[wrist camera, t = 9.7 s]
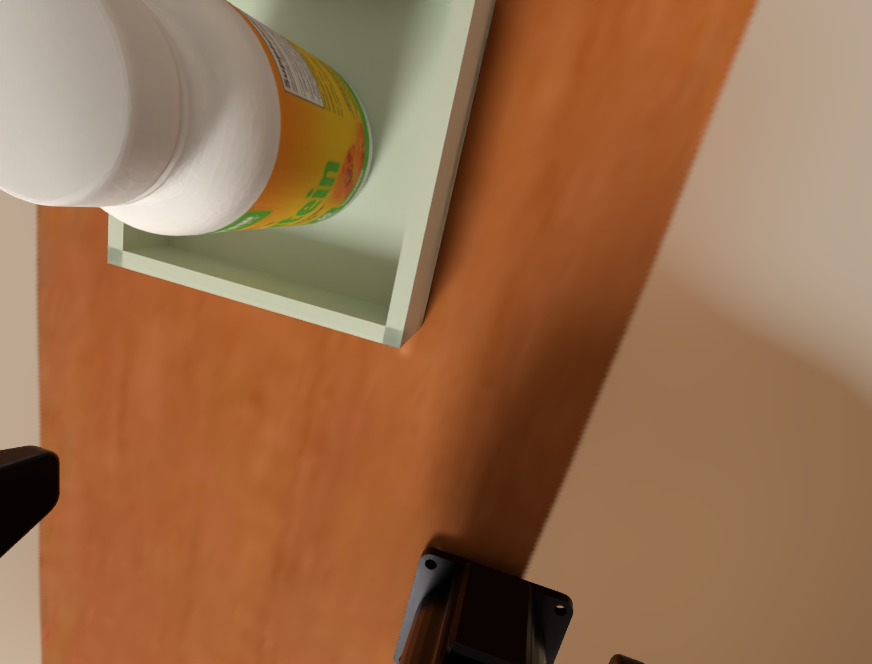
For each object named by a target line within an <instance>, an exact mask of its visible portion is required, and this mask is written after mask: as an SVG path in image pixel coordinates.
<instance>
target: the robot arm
mask: <svg viewBox="0 0 872 664" xmlns="http://www.w3.org/2000/svg"><path fill="white" fill-rule="evenodd" d="M59 494H60V462H59V458H58V456H57V454H55V453H54V452H52V451H49V450H46V449H43V448H41V447H38V446H23V447H17V448H12V449H5V450H0V558H1V557H2V556H3V555H4V554H5V553H6V552H7V551H8V550H9V549H11V547H13V546H14V545H15V544H16V543H17V542H18V541H19V540H20V539H21V538H22V537H24V536H25V535H26V534H27V533H28V532H29V531H30V530H31V529H32V528H33V527H34V526H35V525H36V524H38V523H39V522H40V521H41V520H42V519H43V518H44V517H45V516H46V515H47V514H48V513H49V512H50V511H51V510H52V509H53V508H54V506H55V505H56V503H57V501H58V499H59ZM428 559H431V560H434V561H435V562H436V563H431V562H429V561H428ZM558 605H561V606H563V607H564V608H557V607H556V606H558ZM572 615H573V603H572V600H571V599H570V598H569V597H568V596H567V595H565V594H563V593H560V592H558V591H555V590H552V589H549V588H546V587H543V586H540V585H538V584H535V583H532V582H529V581H526V580H523V579H521V578H518V577H515V576H512V575H509V574H506V573H503V572H501V571H498V570H495V569H492V568H489V567H486V566H483V565H481V564H478V563H475V562H472V561H469V560H466V559H464V558H461V557H458V556H455V555H452V554H449V553H446V552H444V551H441V550H438V549H435V548H428V549H426V550H424V551H423V553H422V555H421V558H420V561H419V564H418V568H417V572H416V576H415V579H414V583H413V587H412V591H411V594H410V598H409V602H408V606H407V609H406V613H405V617H404V621H403V624H402V628H401V632H400V636H399V639H398V643H397V647H396V650H395V654H394V662H395V664H553V663H554V660H555V658H556V655H557V653H558V650H559V648H560V645H561V643H562V640H563V638H564V635H565V633H566V630H567V628H568V625H569V623H570V620H571V618H572ZM609 664H644V663H643V662H640V661H638V660H635V659H632V658H629V657H626V656H624V655H621V654H616V655H614V656H613V657H612V658H611V660H610V662H609Z"/></svg>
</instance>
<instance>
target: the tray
mask: <svg viewBox="0 0 872 664" xmlns="http://www.w3.org/2000/svg"><path fill="white" fill-rule="evenodd" d="M226 1H228V2H229V3H231V4H232V5H234V6H236V7H237V8H239V9H240V10H242V11H243V12H245V13H247V14H248V15H250V16H251V17H253V18H254V19H256V20H258V21H259V22H261V23H262V24H264V25H266V26H267V27H269V28H270V29H272V30H274V31H275V32H277V33H278V34H280V35H282V36H283V37H285V38H286V39H288V40H289V41H291V42H293V43H294V44H296V45H297V46H299V47H300V48H302V49H303V50H305V51H307V52H308V53H310V54H311V55H313V56H315V57H316V58H318V59H319V60H321V61H322V62H324V63H325V64H327V65H328V66H330V67H331V68H332V69H333V70H335V71H336V72H337V73H339V74H340V75H341V76H342V77H343V78H344V79H345V80H346V81H347V82H348V83H349V84H350V85H351V87H352V88H353V89H354V91H355V92H356V93H357V95H358V97H359V99H360V100H361V102H362V104H363V106H364V109H365V111H366V114H367V117H368V119H369V123H370V127H371V134H372V144H373V149H372V160H371V165H370V169H369V173H368V176H367V179H366V181H365V183H364V185H363V187H362V189H361V191H360V192H359V194H358V195H357V197H356V198H355V199H354V201H353V202H352V203H351V204H350V205H349V206H348V207H347V208H346V209H345V210H343V211H342V212H340V213H339V214H337V215H336V216H334V217H332V218H330V219H328V220H325V221H323V222H319V223H315V224H309V225H302V226H288V227H276V228H263V229H252V230H241V231H231V232H221V233H211V234H201V235H184V236H171V235H160V234H155V233H150V232H146V231H143V230H140V229H137V228H134V227H132V226H129V225H127V224H126V223H124V222H122V221H120V220H118V219H117V218H115V217H113V216H112V215H110V214H109V225H108V263H110V264H113V265H117V266H120V267H123V268H127V269H130V270H134V271H137V272H140V273H144V274H147V275H151V276H154V277H157V278H161V279H164V280H168V281H171V282H175V283H178V284H181V285H185V286H188V287H192V288H195V289H198V290H202V291H205V292H209V293H212V294H215V295H219V296H222V297H226V298H229V299H232V300H236V301H239V302H243V303H246V304H249V305H253V306H256V307H260V308H263V309H267V310H270V311H273V312H277V313H280V314H284V315H287V316H290V317H294V318H297V319H301V320H304V321H307V322H311V323H314V324H318V325H321V326H324V327H328V328H331V329H335V330H338V331H341V332H345V333H348V334H352V335H355V336H358V337H362V338H365V339H369V340H372V341H376V342H379V343H382V344H386V345H389V346H393V347H396V348H401V347H402V346H403V345H404V344H405V343H406V342H407V341H408V340H409V339H410V338H411V337H412V336H413V335H414V334H415V333H416V332H417V331H418V330H419V329H420V328H421V327H422V323H423V318H424V314H425V310H426V305H427V301H428V297H429V292H430V288H431V283H432V279H433V275H434V270H435V266H436V262H437V257H438V253H439V248H440V244H441V240H442V235H443V231H444V227H445V222H446V218H447V213H448V209H449V205H450V200H451V196H452V192H453V187H454V183H455V178H456V174H457V170H458V165H459V161H460V157H461V152H462V148H463V143H464V139H465V135H466V130H467V126H468V122H469V117H470V113H471V108H472V104H473V100H474V95H475V91H476V86H477V82H478V78H479V73H480V69H481V65H482V60H483V56H484V51H485V47H486V43H487V38H488V34H489V30H490V25H491V21H492V16H493V12H494V8H495V3H496V0H226Z"/></svg>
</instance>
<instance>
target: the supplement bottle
mask: <svg viewBox="0 0 872 664" xmlns="http://www.w3.org/2000/svg"><path fill="white" fill-rule="evenodd" d="M372 149H373V144H372V134H371V127H370V123H369V119H368V117H367V114H366V111H365V109H364V106H363V104H362V102H361V100H360V99H359V97H358V95H357V93H356V92H355V91H354V89H353V88H352V87H351V85H350V84H349V83H348V82H347V81H346V80H345V79H344V78H343V77H342V76H341V75H340V74H339V73H337V72H336V71H335V70H333V69H332V68H331V67H330V66H328V65H327V64H325V63H324V62H322V61H321V60H319V59H318V58H316V57H315V56H313V55H311V54H310V53H308V52H307V51H305V50H303V49H302V48H300V47H299V46H297V45H296V44H294V43H293V42H291V41H289V40H288V39H286V38H285V37H283V36H282V35H280V34H278V33H277V32H275V31H274V30H272V29H270V28H269V27H267V26H266V25H264V24H262V23H261V22H259V21H258V20H256V19H254V18H253V17H251V16H250V15H248V14H247V13H245V12H243V11H242V10H240V9H239V8H237V7H236V6H234V5H232V4H231V3H229V2H228V1H226V0H0V189H2V190H3V191H5V192H6V193H8V194H10V195H13V196H15V197H17V198H19V199H22V200H25V201H28V202H31V203H34V204H39V205H45V206H76V207H100V208H102V209H103V210H104V211H106V212H107V213H109V214H110V215H112V216H113V217H115V218H117V219H118V220H120V221H122V222H124V223H126V224H127V225H129V226H132V227H134V228H137V229H140V230H143V231H146V232H150V233H155V234H160V235H171V236H184V235H201V234H211V233H221V232H231V231H241V230H252V229H263V228H276V227H288V226H302V225H309V224H315V223H319V222H323V221H325V220H328V219H330V218H332V217H334V216H336V215H337V214H339V213H340V212H342V211H343V210H345V209H346V208H347V207H348V206H349V205H350V204H351V203H352V202H353V201H354V199H355V198H356V197H357V195H358V194H359V192H360V191H361V189H362V187H363V185H364V183H365V181H366V179H367V176H368V173H369V169H370V165H371V160H372Z"/></svg>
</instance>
